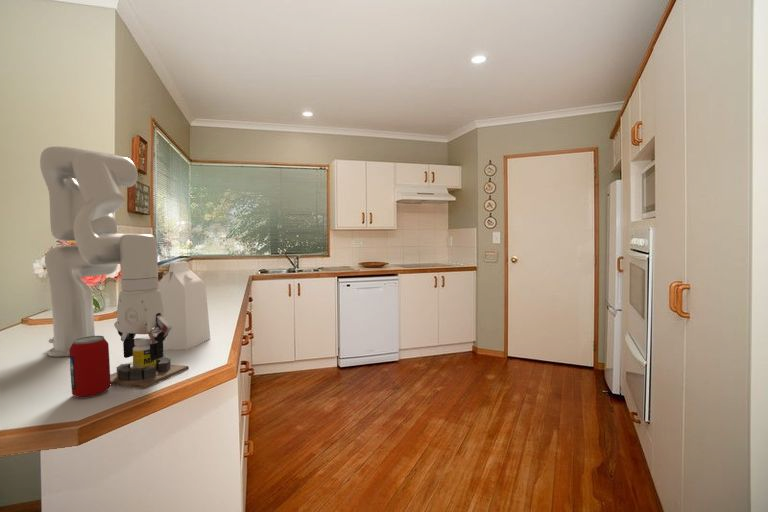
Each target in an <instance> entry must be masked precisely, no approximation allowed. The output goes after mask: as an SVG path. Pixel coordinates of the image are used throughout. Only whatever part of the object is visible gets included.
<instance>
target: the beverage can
mask: <svg viewBox="0 0 768 512" xmlns="http://www.w3.org/2000/svg"><path fill="white" fill-rule="evenodd" d="M109 347H110V346H109V343H108V341H107V340H106V338H105V336H104V335H95V336H88V337H83V338H79V339H76V340H74V341H73V344H72V345H71V347H70V349H69V354H70V356H69V370H70V383H71V384H70V385H71V386H70V387H71V394H72V396H74V397H78V398H79V399H81V398H82V399H84V398H85V399H86V398H87V399H88V398H92V397H96V396H99V395H102V394H104V393H105V392H107V391H108V389H110V388H111V385H110V374H111V365H110V364H111V363H110V349H109Z"/></svg>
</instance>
